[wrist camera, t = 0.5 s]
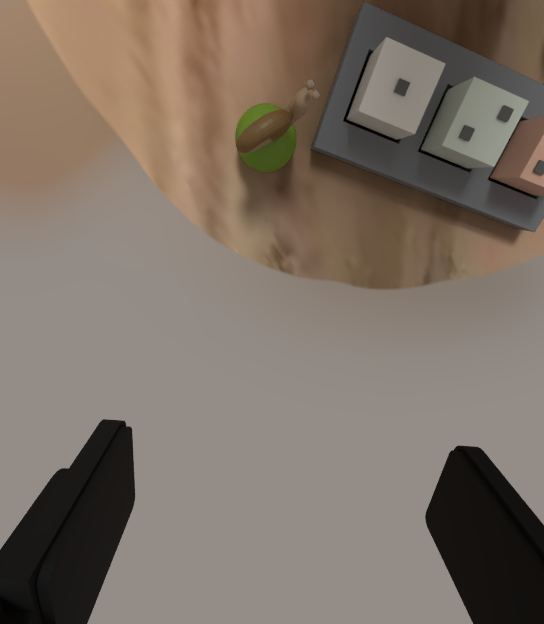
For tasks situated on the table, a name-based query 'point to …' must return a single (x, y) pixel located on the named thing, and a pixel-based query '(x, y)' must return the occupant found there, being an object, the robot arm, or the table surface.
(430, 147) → the two pip tile
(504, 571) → the robot arm
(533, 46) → the table surface
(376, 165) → the button board
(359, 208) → the table surface
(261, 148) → the snail figurine
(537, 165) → the pink dice cube
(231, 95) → the table surface
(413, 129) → the one pip tile
